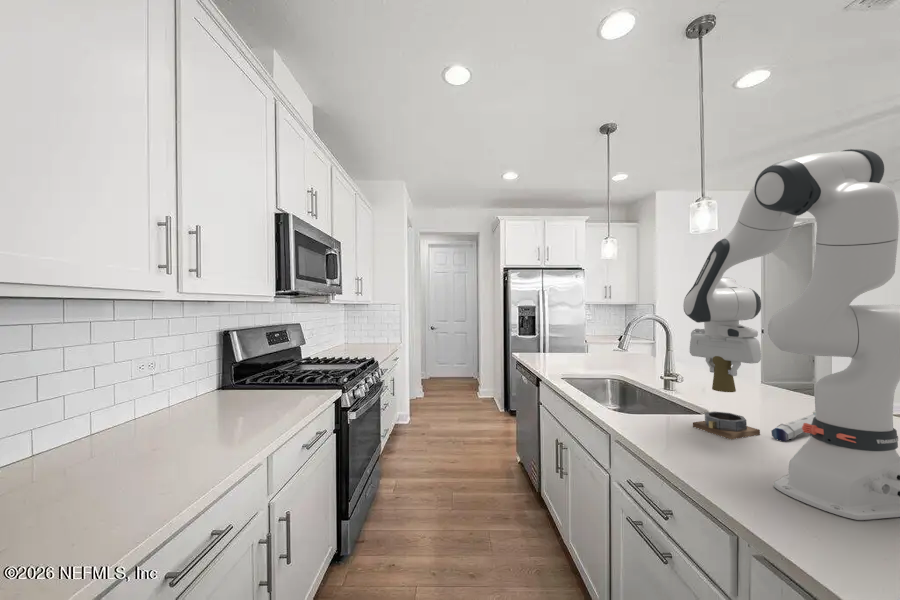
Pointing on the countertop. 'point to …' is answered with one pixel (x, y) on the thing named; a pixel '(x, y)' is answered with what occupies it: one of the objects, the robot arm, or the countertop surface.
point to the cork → (722, 376)
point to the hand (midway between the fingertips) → (723, 374)
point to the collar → (725, 421)
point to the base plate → (727, 434)
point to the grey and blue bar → (791, 428)
